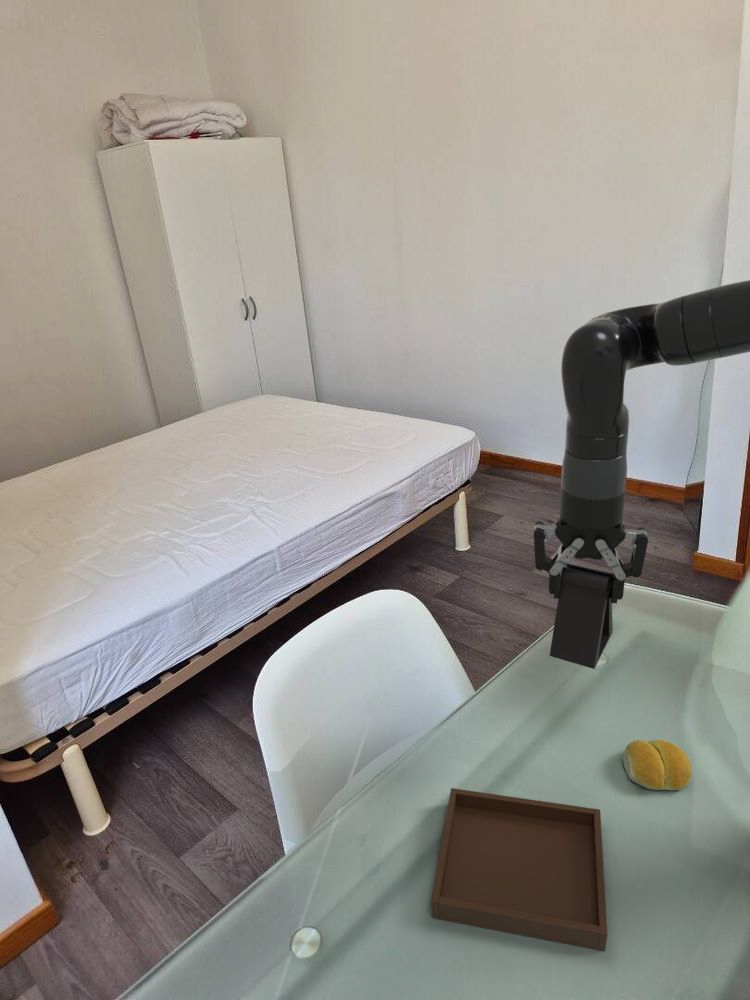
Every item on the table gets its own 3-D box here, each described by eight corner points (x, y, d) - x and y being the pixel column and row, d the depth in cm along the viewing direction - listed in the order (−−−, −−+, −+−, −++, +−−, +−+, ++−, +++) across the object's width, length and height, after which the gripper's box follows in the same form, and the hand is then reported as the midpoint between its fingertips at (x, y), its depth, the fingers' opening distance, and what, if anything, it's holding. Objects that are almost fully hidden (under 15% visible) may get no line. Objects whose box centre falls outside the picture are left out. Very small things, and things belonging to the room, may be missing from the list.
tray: (598, 825, 91) (600, 809, 90) (605, 951, 77) (607, 934, 75) (451, 803, 96) (451, 787, 95) (432, 918, 82) (431, 901, 80)
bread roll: (699, 793, 95) (703, 772, 93) (632, 793, 95) (635, 773, 94) (678, 748, 102) (682, 727, 100) (617, 748, 103) (619, 728, 101)
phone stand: (593, 670, 89) (600, 593, 84) (549, 656, 92) (552, 581, 87) (612, 632, 96) (619, 558, 91) (570, 621, 99) (574, 549, 94)
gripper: (530, 494, 82) (527, 609, 90) (659, 499, 79) (645, 619, 86) (534, 469, 89) (531, 578, 96) (653, 473, 85) (640, 586, 92)
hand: (585, 597), depth 91 cm, fingers closed on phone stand, 6 cm apart
